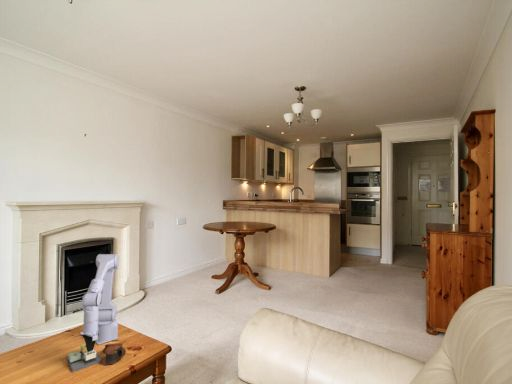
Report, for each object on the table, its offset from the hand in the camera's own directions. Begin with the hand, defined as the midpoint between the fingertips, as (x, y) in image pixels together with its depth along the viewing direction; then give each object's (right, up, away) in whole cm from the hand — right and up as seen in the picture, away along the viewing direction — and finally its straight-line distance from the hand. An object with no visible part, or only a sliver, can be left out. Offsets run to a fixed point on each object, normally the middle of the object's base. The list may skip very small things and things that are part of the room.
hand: (90, 350), depth 124 cm
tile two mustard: (-5, -3, +6) cm, 9 cm away
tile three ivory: (0, -3, 0) cm, 3 cm away
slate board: (-4, -6, +2) cm, 7 cm away
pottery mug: (+9, -6, +3) cm, 12 cm away
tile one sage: (-7, -4, 0) cm, 8 cm away
